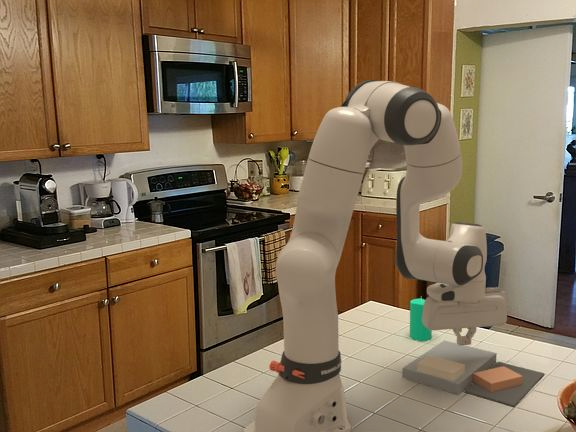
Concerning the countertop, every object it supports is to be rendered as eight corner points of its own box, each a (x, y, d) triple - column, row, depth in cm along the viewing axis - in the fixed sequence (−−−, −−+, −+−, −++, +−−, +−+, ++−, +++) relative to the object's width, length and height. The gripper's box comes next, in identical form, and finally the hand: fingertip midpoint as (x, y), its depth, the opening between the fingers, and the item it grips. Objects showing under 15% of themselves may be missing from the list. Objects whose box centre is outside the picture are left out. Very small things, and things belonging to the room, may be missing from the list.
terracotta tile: (491, 392, 126) (491, 383, 126) (472, 381, 132) (473, 373, 132) (522, 384, 130) (522, 376, 129) (503, 374, 135) (503, 366, 135)
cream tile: (464, 372, 132) (464, 364, 131) (453, 381, 127) (453, 373, 127) (428, 362, 138) (428, 354, 137) (416, 371, 133) (416, 363, 133)
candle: (426, 343, 156) (426, 300, 155) (406, 338, 160) (406, 297, 158) (434, 336, 161) (435, 295, 159) (415, 332, 165) (415, 292, 163)
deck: (458, 394, 126) (458, 384, 126) (402, 377, 135) (402, 367, 135) (496, 362, 143) (496, 353, 142) (444, 349, 152) (444, 340, 151)
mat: (514, 407, 120) (514, 405, 120) (464, 392, 127) (464, 390, 127) (544, 374, 135) (544, 373, 135) (498, 363, 142) (498, 361, 142)
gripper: (499, 283, 140) (497, 336, 142) (420, 287, 137) (419, 342, 139) (513, 290, 134) (510, 346, 136) (430, 295, 131) (429, 352, 133)
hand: (463, 344), depth 138 cm, fingers closed
